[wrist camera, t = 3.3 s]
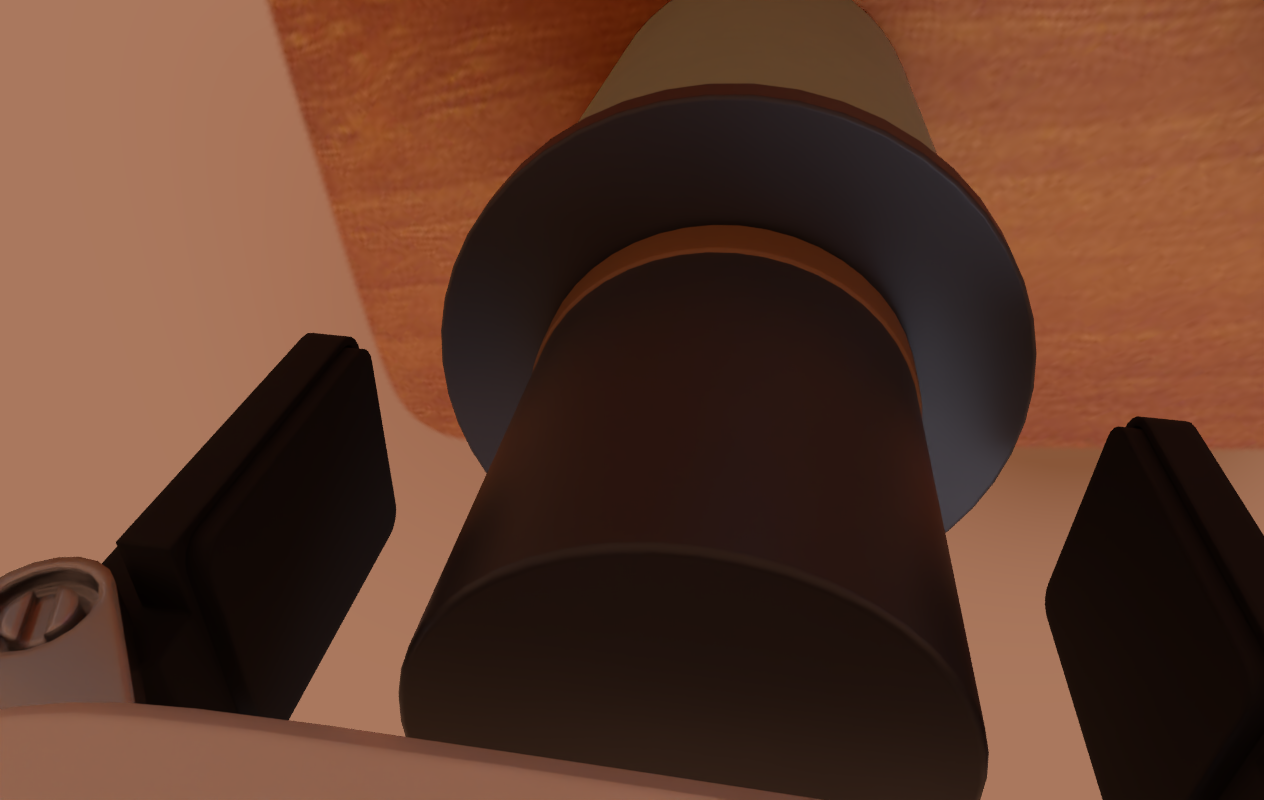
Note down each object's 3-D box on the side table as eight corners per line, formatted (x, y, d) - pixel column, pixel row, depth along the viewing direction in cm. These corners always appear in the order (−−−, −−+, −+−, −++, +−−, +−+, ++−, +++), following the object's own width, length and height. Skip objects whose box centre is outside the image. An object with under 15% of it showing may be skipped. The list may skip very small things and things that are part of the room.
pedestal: (551, 175, 24) (402, 410, 15) (713, -102, 20) (643, -12, 11) (784, 324, 25) (778, 621, 16) (980, 95, 21) (1121, 321, 12)
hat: (372, 414, 15) (129, 770, 9) (632, -65, 10) (452, 95, 5) (783, 642, 16) (778, 1060, 11) (1168, 316, 12) (1485, 757, 6)
